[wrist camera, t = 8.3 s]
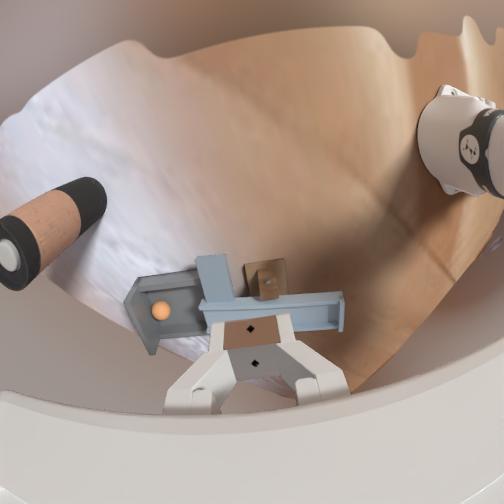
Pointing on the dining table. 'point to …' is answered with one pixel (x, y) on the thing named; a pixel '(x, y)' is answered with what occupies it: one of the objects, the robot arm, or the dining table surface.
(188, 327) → the tray
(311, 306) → the lever
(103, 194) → the travel mug
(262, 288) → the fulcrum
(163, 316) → the ball
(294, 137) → the dining table surface
